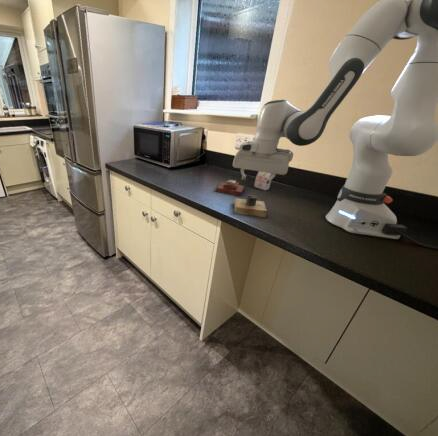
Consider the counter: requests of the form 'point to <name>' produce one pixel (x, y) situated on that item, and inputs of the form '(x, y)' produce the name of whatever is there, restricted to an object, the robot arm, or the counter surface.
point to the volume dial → (251, 200)
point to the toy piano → (230, 188)
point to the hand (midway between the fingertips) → (255, 181)
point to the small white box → (262, 180)
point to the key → (231, 182)
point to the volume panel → (250, 208)
